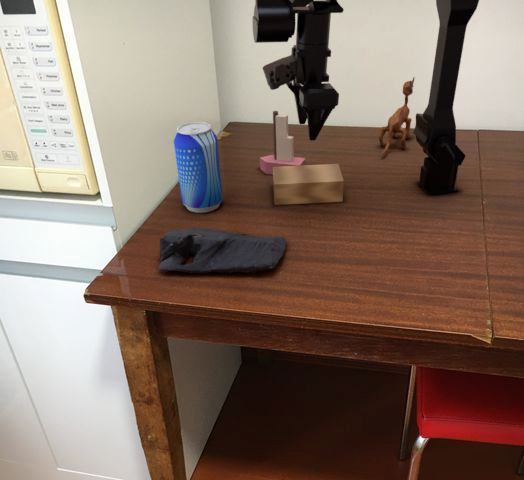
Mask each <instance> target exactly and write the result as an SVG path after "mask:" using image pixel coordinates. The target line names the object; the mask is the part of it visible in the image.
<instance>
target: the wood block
mask: <svg viewBox="0 0 524 480" xmlns="http://www.w3.org/2000/svg"><path fill="white" fill-rule="evenodd" d="M343 177H344V176H343V174H342V171H341V167H340V164H339V163H323V164H321V163H320V164H306V165H301V166H281V167H273V175H272V185H273V186H272V188H273V189H272V190H273V201H274V206H280V205H283V206H284V205H301V204H304V205H305V204H320V203H322V204H323V203H324V204H325V203H341V202H344V183H345V181H344V180H345V179H344V178H343Z"/></svg>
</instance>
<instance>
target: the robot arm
mask: <svg viewBox="0 0 524 480" xmlns="http://www.w3.org/2000/svg"><path fill="white" fill-rule="evenodd" d="M254 2H255V5H254V8H253V16H252V36H253V41H254V43H256V44H257V43H259V44H260V43H262V44H263V43H288V42H289V39H292V38H293V36H295V35H296V36H295V44H293V47H291V54H290V55H288V56H284V57H281V58H279V59H276V60H273V61H272V62H270V63H269V62H268V63H267V64H264V65H263V66H262V71H263V74H264V77H265V80H266V83H267V85H268V87H269V89H270V91H271V90H272V91H273V90H277V89H279V88H280V87H281V86H284V85H286V86H287V88H288V89H289V90H290V91H291V93H292V94H293V96H294V103H295V107H296V112H297V118H298V124H299V125H305V124H306V123H307V128H308V138H309V141H316V140H317V138H318V136H319V135H320V133H321V131H322V129H323V127H324V125H325V124H326V122H327V120H328V119H329V117H330V115H331V113H332V111H333V110H335V109H336V107H337V106H339V100H340V93H339V92H338V91H337V90H336V89H335V87H333V85H332V84H331V83H329V82H330V75H329V74H328V73H327V72H328V58H331V57H332V50H331V48H329V47H330V46H329V45H330V31H331V18H332V14H343V13H344V10H345V9H344V8H343V6H341V5H340V4H339V2H338V0H255V1H254ZM479 2H480V0H435V5H436V10H437V16H438V22H439V26H438V32H437V33H438V34H437V40H436V49H435V55H434V62H433V69H432V75H431V82H430V89H429V97H428V104H427V106H426V108H425V109H424V111H423V113H419V112H418V113H417V112H416V114H415V127H414V129H413V131H412V134H413V135H414V136H415V141H416V142H417V144H418V145H419V146H420V147H421V148H422V151H423V153H424V154H425V155H426V157H423V164H422V165H421V166H420V173H419V180H417V185H418V186H420V188H422V189H423V190H424V192H426V193H427V194H428V195H429V196H433V195H441V194H448V193H456V192H459V188H458V187H457V186H456V183H457V175H458V171H459V166H461V165H462V164H463V162H464V161H465V158H466V154H465V153H464V152H463V150H462V149H461V148H460V147H459V146H458V145H457V143H456V142H457V125H456V119H455V114H454V103H455V97H456V91H457V85H458V79H459V78H458V77H459V73H460V67H461V63H462V56H463V50H464V42H465V38H466V31H467V27H468V24H469V22H470V20H472V17H473V16H474V14H475V13H476V11H477V9H478V6H479ZM296 14H297V15H296ZM295 32H296V33H295Z"/></svg>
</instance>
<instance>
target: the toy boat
mask: <svg viewBox="0 0 524 480" xmlns="http://www.w3.org/2000/svg"><path fill="white" fill-rule="evenodd" d="M272 124H273V125H272V126H273V127H272V129H273V154H269V155H264V156H261V157H259V164H260V165H259V166H260V171H262V172H263V173H265V175H272V176H273V167H281V166H301V165H307V163H306V160H307V159H306V157H299V156H298V157H297V156H295V154H294V153H295V149H294V147H295V146H294V141H295V140H294V137H295V136H293V135H289V115H288V114H283V113H282V114H281V113H279V111H278V110H273V111H272Z"/></svg>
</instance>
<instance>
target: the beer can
mask: <svg viewBox="0 0 524 480" xmlns="http://www.w3.org/2000/svg"><path fill="white" fill-rule="evenodd" d="M176 131H177V132H176V134H175V137H174V139H173V146H174V153H175V154H174V155H175V160H176V161H175V162H176V167H177V169H176V170H177V174H178V183H179V189H180V197H181V203H182V204H183V206H185V207H186V209H187V211H189V212H193V213H195V214H196V213H197V214H203V213H204V214H205V213H210V212H213V211H215V210H217V209H218V208H220V204H221V203H222V202H223V200H224V197H223V195H224V194H223V187H222V185H223V184H222V174H221V164H220V153H219V142H218V135H216V133H215V132H214V130H213V129H212V125H211V124H210V123H208V122H204V121H190V122H186V123H182V124H179V126H177V128H176Z"/></svg>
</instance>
